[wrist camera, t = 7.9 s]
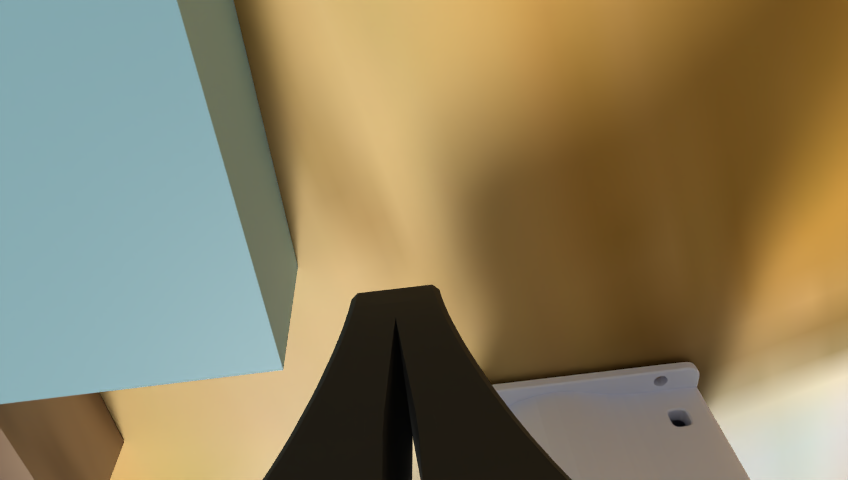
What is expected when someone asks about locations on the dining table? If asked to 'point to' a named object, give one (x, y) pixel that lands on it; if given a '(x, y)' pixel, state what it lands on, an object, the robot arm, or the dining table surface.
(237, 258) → the block
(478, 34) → the dining table surface
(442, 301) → the robot arm
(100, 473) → the board
